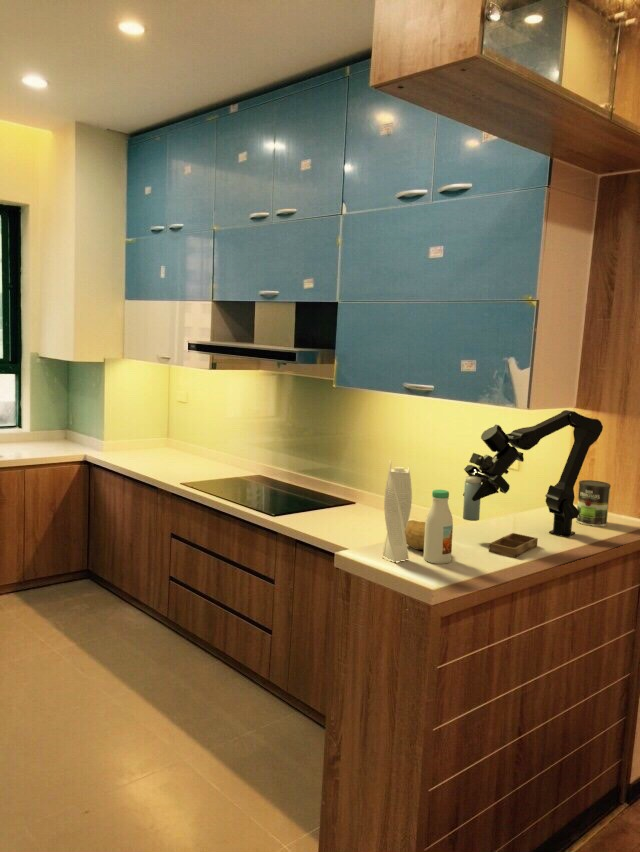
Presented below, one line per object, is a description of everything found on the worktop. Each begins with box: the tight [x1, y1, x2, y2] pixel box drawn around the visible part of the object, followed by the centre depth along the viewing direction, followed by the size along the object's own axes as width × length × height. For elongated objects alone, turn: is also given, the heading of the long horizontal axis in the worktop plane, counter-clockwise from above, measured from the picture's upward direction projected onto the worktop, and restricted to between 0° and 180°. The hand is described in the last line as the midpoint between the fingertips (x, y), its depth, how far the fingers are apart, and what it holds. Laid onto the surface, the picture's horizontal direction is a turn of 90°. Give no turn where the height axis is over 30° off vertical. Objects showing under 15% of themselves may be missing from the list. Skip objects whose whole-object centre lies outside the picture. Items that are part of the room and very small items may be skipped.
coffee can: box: [575, 479, 612, 527], centre depth 249 cm, size 10×10×14 cm
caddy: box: [488, 532, 538, 559], centre depth 216 cm, size 16×8×3 cm, turn 140°
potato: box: [405, 519, 426, 551], centre depth 213 cm, size 10×14×8 cm
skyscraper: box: [382, 459, 413, 562], centre depth 201 cm, size 8×8×28 cm
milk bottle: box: [423, 489, 454, 565], centre depth 201 cm, size 8×8×20 cm
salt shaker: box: [462, 475, 482, 522], centre depth 222 cm, size 5×5×13 cm
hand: (468, 498), depth 222 cm, fingers closed on salt shaker, 5 cm apart
